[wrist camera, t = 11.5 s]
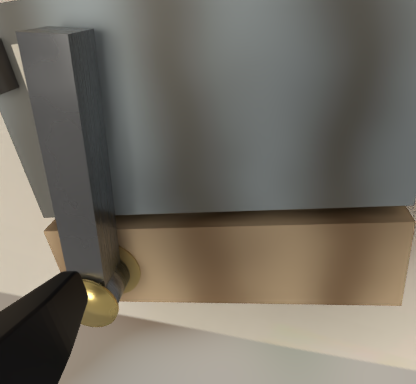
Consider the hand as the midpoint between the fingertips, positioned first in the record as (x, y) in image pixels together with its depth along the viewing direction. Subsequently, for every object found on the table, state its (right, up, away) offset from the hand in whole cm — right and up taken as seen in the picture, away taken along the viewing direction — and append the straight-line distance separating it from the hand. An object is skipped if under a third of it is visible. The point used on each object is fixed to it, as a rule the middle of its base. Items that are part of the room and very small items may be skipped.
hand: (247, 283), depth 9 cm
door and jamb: (-1, +4, +10) cm, 11 cm away
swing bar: (-6, +3, +8) cm, 10 cm away
